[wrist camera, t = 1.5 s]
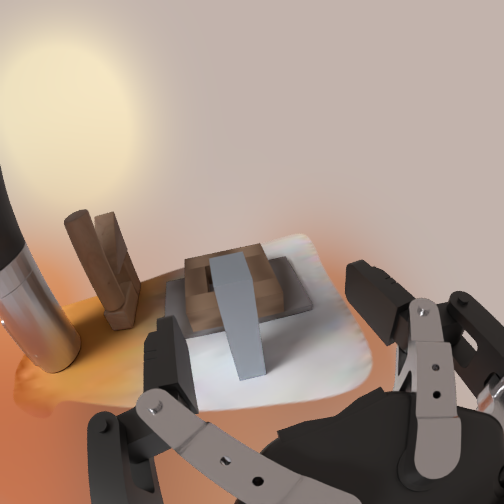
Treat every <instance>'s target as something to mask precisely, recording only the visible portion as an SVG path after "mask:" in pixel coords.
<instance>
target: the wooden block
mask: <svg viewBox="0 0 504 504" xmlns="http://www.w3.org/2000/svg"><path fill="white" fill-rule="evenodd" d="M64 225H65V228H66V230H67V233H68V235H69V237H70V240H71V242H72V244H73V247H74V249H75V251H76V253H77V256H78V258H79V260H80V262H81V264H82V266H83V268H84V270H85V272H86V274H87V276H88V278H89V280H90V282H91V284H92V286H93V288H94V290H95V292H96V294H97V296H98V297H99V299H100V301H101V303H102V305H103V306H104V308H105V312H104V316H105V318H106V319H107V321H108V323H109V324H110V326H111V328H112V329H113V330H122V329H128V328H133V325H134V319H135V313H136V307H137V302H138V296H139V291H140V286H141V283H140V281H139V278H138V276H137V274H136V271H135V269H134V266H133V264H132V261H131V259H130V256H129V254H128V252H127V247H126V245H125V242H124V239H123V236H122V234H121V231H120V228H119V225H118V222H117V220H116V217H115V214H114V212H110V213H106V214H103V215H99V216H96V217H95V228H94V226H93V223H92V220H91V217H90V215H89V212H88V211H87V210H86V209H85V210H79V211H76V212H74V213H72V214H71V215H69V216H68V217H67V218H66V219H65V220H64Z"/></svg>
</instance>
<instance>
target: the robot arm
mask: <svg viewBox="0 0 504 504" xmlns="http://www.w3.org/2000/svg"><path fill="white" fill-rule="evenodd" d="M345 294H346V297H347V300H348V301H349V303H350V304H351V305H352V306H353V307H354V309H355V310H356V311H357V312H358V313H359V314H360V315H361V317H362V318H363V319H364V320H365V321H366V322H367V323H368V325H369V326H370V327H371V328H372V329H373V330H374V332H375V333H376V334H377V335H378V336H379V338H380V339H381V340H382V341H383V342H384V343H385V344H386V346H388V345H391V344H392V343H394V342H396V343H397V350H396V373H395V384H394V388H393V391H391V392H384V391H383V389H382V388H381V387H379V388H377V389H376V390H373V391H372V392H370V393H368V394H366V395H364V396H362V397H360V398H358V399H357V400H355V401H354V402H353V403H352V404H351V405H349V406H348V407H347V408H345V409H344V410H343V411H342V412H340V413H339V414H338V415H336V416H334V417H328V418H323V419H317V420H310V421H304V422H302V423H299V424H296V425H294V426H291V427H288V428H285V429H282V430H279V431H277V433H278V438H277V439H275V440H274V441H272V442H271V443H270V444H268V445H267V446H266V447H265V448H264V449H263V450H262V451H261V452H260V453H258V452H256V451H254V450H252V449H251V448H249V447H247V446H246V445H244V444H243V443H241V442H240V441H238V440H236V439H235V438H233V437H231V436H230V435H229V434H227V433H226V432H224V431H223V430H221V429H220V428H218V427H217V426H215V425H213V424H212V423H210V422H205V421H203V420H202V419H200V418H199V417H197V416H196V415H195V414H198V413H199V411H198V406H197V400H196V395H195V389H194V383H193V377H192V370H191V364H190V357H189V350H188V346H187V343H186V340H185V338H184V336H183V333H182V331H181V329H180V327H179V324H178V322H177V320H176V318H175V316H174V315H170V316H166V317H162V318H158V319H157V331H155V332H151V333H149V334H148V336H147V338H146V340H145V342H144V392H143V394H142V395H141V396H140V397H139V398H138V400H137V403H136V406H135V407H134V408H132V409H130V410H129V411H126V412H124V413H122V414H120V415H118V416H115V415H114V414H112V413H110V412H105V411H104V412H99V413H97V414H95V415H94V416H93V417H92V418H91V419H90V421H89V423H88V428H87V429H88V430H87V451H88V474H89V485H90V496H91V504H164V503H163V499H162V495H161V491H160V486H159V482H158V477H157V472H156V467H155V462H154V456H156V455H158V454H160V453H162V452H164V451H166V450H168V449H171V448H173V449H174V450H175V451H176V452H177V453H178V454H179V455H180V456H181V457H183V458H184V459H185V460H186V461H187V462H189V463H190V464H191V465H192V466H194V467H195V468H196V469H197V470H198V471H200V472H201V473H202V474H204V475H205V476H206V477H208V478H209V479H210V480H212V481H213V482H215V483H216V484H217V485H219V486H220V487H221V488H223V489H224V490H226V491H227V492H229V493H231V494H232V495H233V496H235V497H236V498H237V500H236V501H235V503H234V504H504V327H503V326H502V325H501V324H500V323H499V322H498V321H497V320H496V319H495V318H494V317H493V316H492V315H491V314H490V313H489V312H488V311H487V310H486V309H485V308H484V307H483V306H482V305H481V304H480V303H478V302H477V301H476V300H475V299H474V298H473V297H472V296H471V295H469V294H468V293H466V292H462V291H456V292H453V293H452V294H451V296H450V298H449V301H448V302H446V303H441V304H435V303H434V302H433V301H431V300H429V299H426V298H417V299H416V298H414V297H413V296H412V295H411V294H410V293H409V292H407V290H405V289H404V288H403V287H402V286H401V285H400V284H399V283H396V281H395V280H394V279H393V278H390V276H389V275H388V274H387V273H386V272H385V271H383V270H381V269H379V268H376V267H371V266H370V265H369V264H368V263H366V262H365V261H364V260H359V261H356V262H353V263H350V264H348V265H347V267H346V282H345ZM0 318H1V319H2V325H3V326H4V328H5V329H6V331H7V332H8V333H9V334H10V336H11V337H12V338H13V340H14V341H15V342H16V343H17V344H18V346H19V347H20V348H21V349H22V351H23V352H24V353H25V354H26V355H27V357H28V358H29V359H30V360H31V361H32V362H33V363H34V364H35V366H40V367H41V369H42V370H44V371H45V372H49V373H55V372H59V371H61V370H63V369H65V368H66V367H67V366H69V365H70V364H71V363H72V362H73V360H74V359H75V358H76V356H77V354H78V352H79V349H80V345H81V339H80V336H79V334H78V333H77V331H76V330H75V328H74V327H73V325H72V324H71V322H70V321H69V319H68V318H67V316H66V314H65V313H64V311H63V310H62V308H61V307H60V305H59V303H58V302H57V300H56V299H55V297H54V295H53V294H52V292H51V290H50V288H49V287H48V285H47V283H46V281H45V280H44V278H43V276H42V274H41V272H40V270H39V268H38V266H37V264H36V263H35V261H34V259H33V257H32V255H31V253H30V251H29V248H28V246H27V244H26V242H25V240H24V238H23V235H22V233H21V231H20V228H19V226H18V223H17V221H16V218H15V215H14V212H13V210H12V207H11V204H10V201H9V198H8V195H7V191H6V188H5V184H4V180H3V175H2V171H1V166H0ZM464 330H466V331H467V332H468V333H469V335H471V337H472V338H473V339H474V340H475V341H476V343H477V346H478V349H477V352H476V351H475V350H474V348H473V347H472V346H471V345H470V344H469V343H468V342H467V341H466V339H465V338H464V337H463V336H462V334H463V332H464ZM454 370H455V371H456V372H457V374H458V375H459V376H460V377H461V379H462V380H463V381H464V383H465V384H466V385H467V387H468V388H469V389H470V390H471V392H472V393H473V394H474V396H475V397H476V399H477V404H478V407H477V408H476V410H471V409H467V408H463V407H459V406H457V404H456V386H455V376H454Z"/></svg>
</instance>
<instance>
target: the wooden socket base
mask: <svg viewBox="0 0 504 504" xmlns="http://www.w3.org/2000/svg"><path fill="white" fill-rule="evenodd" d="M242 251H243V254H244V257H245V260H246V262H247V265H248V268H249V271H250V274H251V276H252V280H253V287H254V294H255V301H256V308H257V315H258V322H259V323H262V322H266V321H270V320H274V319H278V318H282V317H286V316H290V315H294V314H297V313H301V312H305V311H308V310H312V307H313V304H312V302H311V300H310V299H309V297H308V295H307V293H306V292H305V290H304V288H303V286H302V284H301V283H300V281H299V279H298V277H297V276H296V274H295V272H294V270H293V269H292V267H291V265H290V264H289V262H288V260H287V258H286V257H281V258H276V259H272V260H268V259H267V257H266V255H265V253H264V251H263V249H262V246H261V244H260V243H259V244H255V245H250V246H245V247H240V248H236V249H231V250H226V251H221V252H217V253H212V254H207V255H203V256H198V257H194V258H189V259H185V278H183V279H178V280H174V281H169V282H167V283H166V301H165V317H166V316H170V315H174V316H175V318H176V320H177V322H178V324H179V327H180V329H181V331H182V333H183V336H184V338H185V339H186V338H192V337H197V336H202V335H207V334H212V333H217V332H222V331H225V328H224V324H223V321H222V317H221V314H220V310H219V306H218V302H217V299H216V295H215V291H214V287H213V281H212V275H211V268H210V262H209V258H214V257H219V256H223V255H228V254H233V253H238V252H242Z"/></svg>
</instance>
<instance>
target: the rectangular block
mask: <svg viewBox="0 0 504 504" xmlns="http://www.w3.org/2000/svg"><path fill="white" fill-rule="evenodd" d="M209 262H210V268H211V275H212V281H213V287H214V291H215V295H216V299H217V302H218V306H219V310H220V314H221V317H222V321H223V324H224V328H225V332H226V335H227V339H228V342H229V346H230V349H231V353H232V356H233V359H234V363H235V366H236V369H237V373H238V376H239V379H240V381H241V380H245V379H250V378H254V377H258V376H263V375H266V370H265V363H264V356H263V349H262V343H261V336H260V329H259V322H258V315H257V308H256V301H255V294H254V287H253V280H252V276H251V274H250V271H249V268H248V265H247V262H246V260H245V257H244V254H243V251H242V252H238V253H233V254H228V255H223V256H219V257H214V258H209Z"/></svg>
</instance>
